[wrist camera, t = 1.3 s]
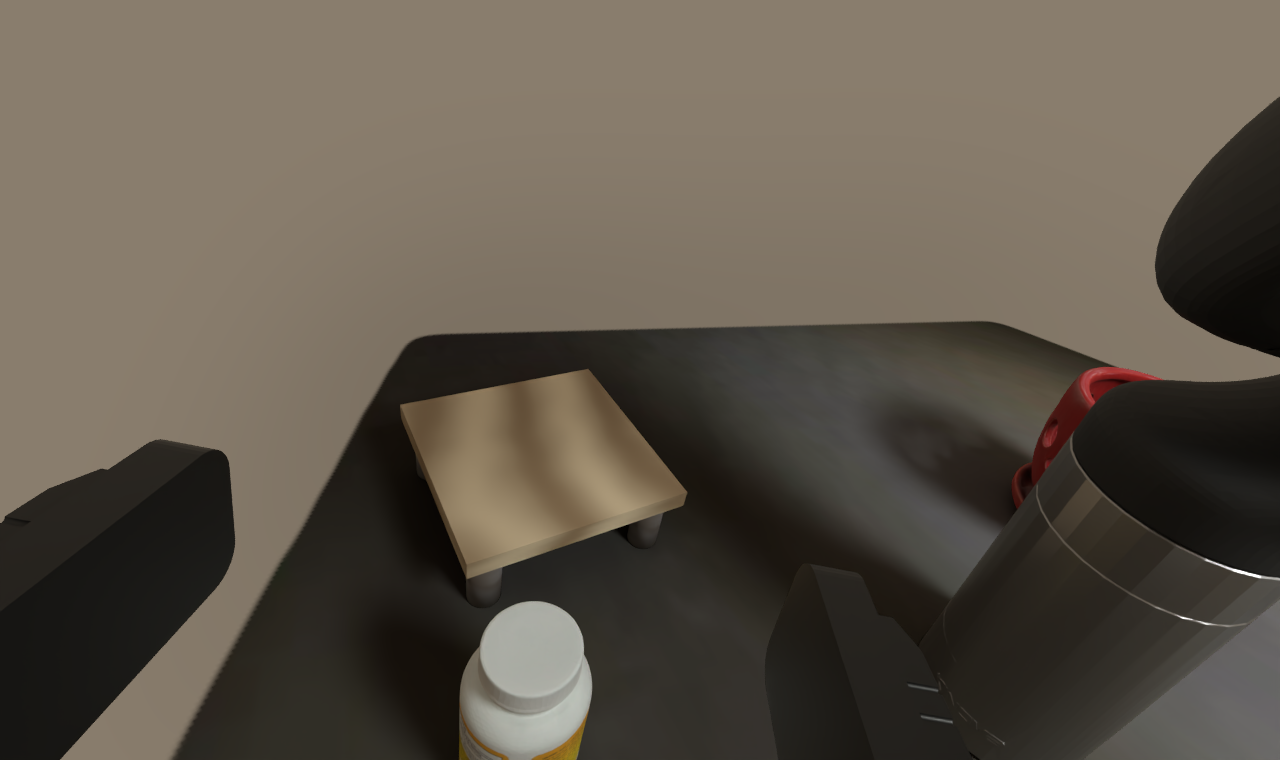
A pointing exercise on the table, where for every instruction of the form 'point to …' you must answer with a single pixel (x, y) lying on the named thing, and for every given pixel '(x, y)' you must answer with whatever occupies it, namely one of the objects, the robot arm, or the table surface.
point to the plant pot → (1069, 421)
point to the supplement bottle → (525, 687)
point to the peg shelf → (535, 472)
